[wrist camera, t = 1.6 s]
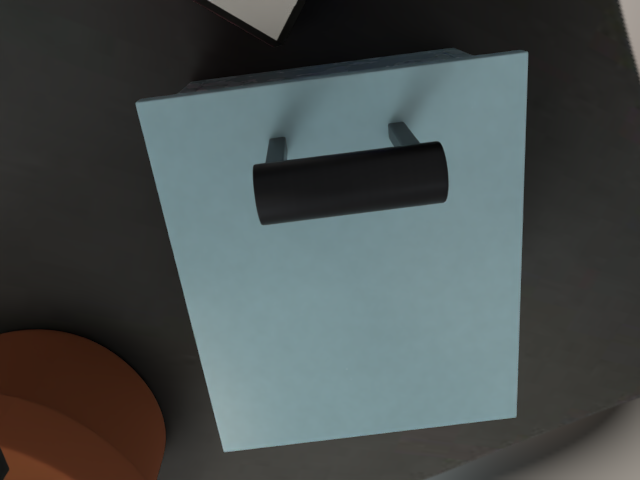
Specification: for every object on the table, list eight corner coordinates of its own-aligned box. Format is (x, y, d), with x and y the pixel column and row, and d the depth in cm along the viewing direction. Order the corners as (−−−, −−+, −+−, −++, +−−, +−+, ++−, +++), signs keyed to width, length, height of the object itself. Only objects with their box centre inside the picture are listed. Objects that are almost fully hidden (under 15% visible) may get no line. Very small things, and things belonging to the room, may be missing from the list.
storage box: (189, 81, 34) (145, 122, 24) (454, 47, 34) (520, 73, 24) (242, 331, 42) (225, 441, 32) (459, 304, 41) (511, 406, 31)
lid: (139, 98, 24) (72, 147, 16) (521, 49, 23) (619, 77, 16) (225, 441, 31) (204, 575, 24) (511, 407, 31) (575, 532, 24)
